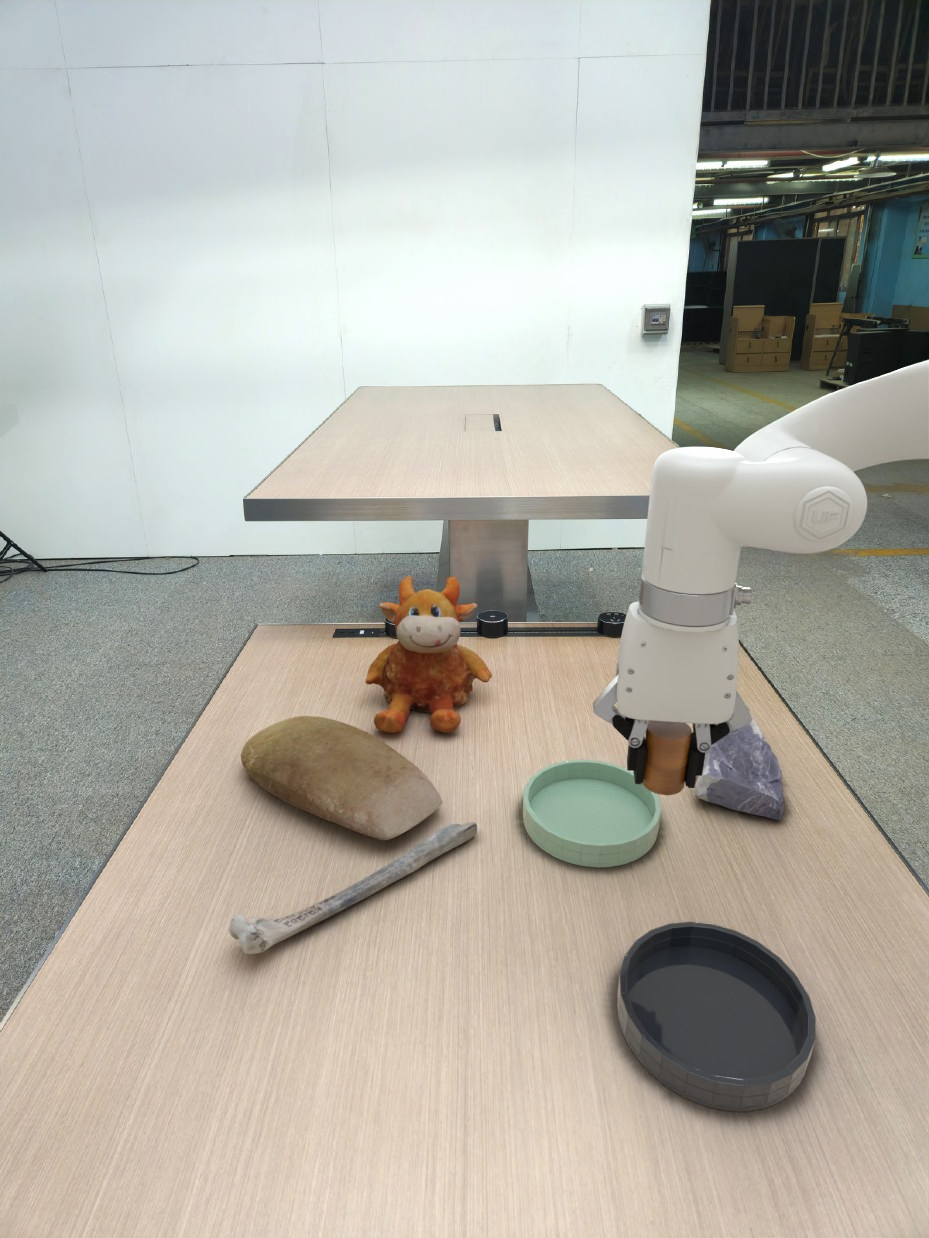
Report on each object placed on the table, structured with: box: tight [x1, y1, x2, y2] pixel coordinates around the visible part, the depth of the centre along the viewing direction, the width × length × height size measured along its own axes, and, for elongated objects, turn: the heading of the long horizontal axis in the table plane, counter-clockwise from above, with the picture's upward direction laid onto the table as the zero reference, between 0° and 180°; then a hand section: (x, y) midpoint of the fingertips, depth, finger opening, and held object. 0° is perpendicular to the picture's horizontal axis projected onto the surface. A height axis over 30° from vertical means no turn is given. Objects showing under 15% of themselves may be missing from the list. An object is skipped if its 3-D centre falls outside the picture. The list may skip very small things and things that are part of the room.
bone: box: [228, 821, 478, 955], centre depth 80 cm, size 29×4×5 cm, turn 129°
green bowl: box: [522, 758, 662, 868], centre depth 90 cm, size 16×16×3 cm
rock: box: [694, 704, 785, 821], centre depth 101 cm, size 25×11×5 cm, turn 162°
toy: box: [365, 575, 493, 734], centre depth 116 cm, size 19×22×25 cm
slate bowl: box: [616, 921, 817, 1113], centre depth 66 cm, size 16×16×3 cm
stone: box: [240, 715, 443, 841], centre depth 96 cm, size 30×15×6 cm, turn 51°
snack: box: [642, 720, 693, 796], centre depth 70 cm, size 4×4×6 cm
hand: (662, 775), depth 71 cm, fingers closed on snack, 4 cm apart
